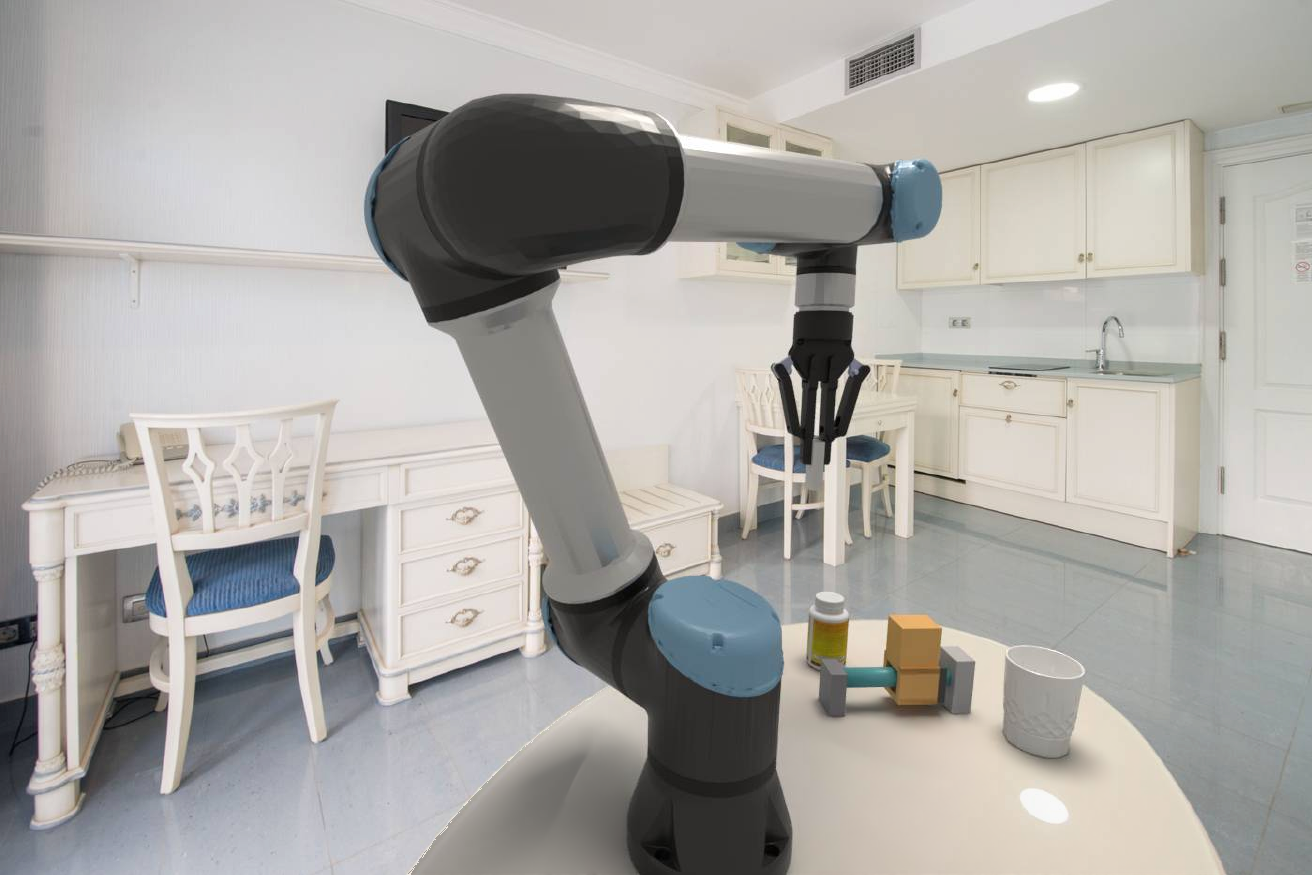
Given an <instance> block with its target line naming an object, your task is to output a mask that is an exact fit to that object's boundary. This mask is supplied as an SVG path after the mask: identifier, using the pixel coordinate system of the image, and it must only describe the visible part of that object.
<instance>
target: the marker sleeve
mask: <svg viewBox="0 0 1312 875" xmlns="http://www.w3.org/2000/svg"><path fill="white" fill-rule="evenodd" d="M887 618H888V619H887V628H886V629H887V631H886V641H885V642H886V643H885V649H884V652H883V661H882V662H883V665H882V667H894V668H895V669H896V670H897V671H898V672H897V685H896V687H883V688H884V689H885V691H886V692H887V693H888V694H889V696H890V697H891V698H892V700H893V701H894V702H895V703H896V704H897V705H898V706H907V705H908V706H912V705H915V706H916V705H937V704H938V703H937V698H938V687H939V676H940V667H939V657H940V646H941V644H942V643H941V642H942V634H943V632H942V631H943V628H942V626H940V625H939V624H938V623H936V622H935V621H934V619H932V618H931V617H929V615H928V614H888V617H887Z"/></svg>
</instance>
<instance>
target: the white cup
mask: <svg viewBox="0 0 1312 875" xmlns="http://www.w3.org/2000/svg"><path fill="white" fill-rule="evenodd" d="M1004 654H1005V656H1004V671H1003V672H1004V675H1003V694H1002V695H1003V699H1002V700H1003V701H1002V707H1003V721H1002V733H1003V735H1004V737H1005V738H1006V740H1007V741H1008V742H1010V744H1012V745H1014V746H1015V747H1016V748H1018V749H1020V750H1022V751H1024V752H1026V753H1028V754H1031V755H1035V756H1039V757H1043V758H1048V759H1049V758H1052V759H1053V758H1056V759H1057V758H1062V757H1064V756H1066V755H1068V753H1069V749H1070V744H1071V743H1070V742H1071V739H1072V738H1071V737H1072V736H1073V735H1072V734H1073V732H1074V730H1075V724H1076V721H1077V718H1078V712H1079V706H1080V702H1081V701H1080V700H1081V696H1082V690H1083V685H1084V680H1085V679H1084V678H1085V676H1086V669H1085V667H1084V666H1083V665H1082V664H1081V663H1080V662H1079V661H1078V660H1076V659H1074V658H1072V656H1069V655H1067V654H1065V653H1062V652H1060V651H1057V650H1054V649H1050V648H1047V647H1042V646H1038V645H1026V644H1023V645H1022V644H1021V645H1013V646H1010V647H1008V648H1007V649H1006V650H1005V653H1004Z"/></svg>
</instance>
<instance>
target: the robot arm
mask: <svg viewBox="0 0 1312 875" xmlns="http://www.w3.org/2000/svg"><path fill="white" fill-rule="evenodd" d="M363 201H364V202H363V217H364V224H365V227H366V228H365V229H366V232H367V234H368V235H367V236H368V238H369V240H370V242H371V245H372V247H373V249H374V251H375V252H376V254H377V255H378V257H379V258H380V260H381V261H382V262H383V263H384V264H385V265H386V267H387V268H388V269H390V270H391V271H392V272H393V273H394V274H395V275H396V276H398V277H399V278H400V279H401V280H402V281H404V282H407V283H408V284H409V285H410V287H411V289H412V291H413V293H414V297H415V298H416V302H417V303H418V305H419V307H420V310H421V312H422V313H423V314H422V315H423V316H424V319H425V321H426V323H427V325H428V327H431V328H432V329H435V330H437V331H439V332H442V333H444V334H447V335H449V336H450V337H451V338H452V339H454V340H455V343H456V344H457V347H458V349H459V350H458V351H459V352H460V355H461V357H462V360H463V361H464V364H465V366H466V368H467V371H468V373H469V376H470V379H471V380H472V382H473V385H474V388H475V389H476V392H477V394H478V396H479V399H480V401H481V404H482V406H483V409H484V411H485V413H486V416H487V418H488V420H489V422H490V424H491V428H492V430H493V432H494V434H495V436H496V437H495V438H496V439H497V441H498V444H499V446H500V448H501V451H502V454H503V455H504V458H505V460H506V463H507V465H508V467H509V469H510V472H511V474H512V476H513V479H514V482H515V483H516V486H517V489H518V491H519V493H520V495H521V498H522V500H523V503H524V506H525V507H526V509H527V512H528V515H529V517H530V520H531V521H532V525H533V526H534V529H535V531H536V534H537V535H538V538H539V540H540V542H541V545H542V547H543V550H544V552H545V554H546V557H547V560H548V564H547V565H546V567H545V569H544V570H543V574H542V576H541V577H542V578H541V580H542V582H541V583H542V588H543V591H544V592H545V597H543V598H542V600H541V601H542V602H541V618H542V621H543V627H544V628H545V631H546V633H547V635H548V637H549V638H550V640H551V641H552V643H553V644H554V645H555V646H556V647H557V648H558V650H559V651H560V652H561V654H562V655H564V657H565V658H567V659H568V660H569V661H571V662H572V663H573V664H575V665H577V666H579V667H581V668H583V669H585V670H587V671H588V672H589V673H591V674H593V675H594V676H595V677H597V678H598V679H600V680H601V681H603V682H604V683H606V684H607V685H608V686H610V687H612V688H613V689H615V690H616V691H618V692H619V693H620V694H622V695H623V696H625V697H626V698H627V699H629V700H631V701H632V702H633V703H635V704H636V705H638V706H639V707H640V708H642V709H643V710H644V711H645V713H646V714H647V751H646V753H647V754H646V758H645V762H644V765H643V768H642V770H641V773H640V775H639V778H638V781H637V784H636V786H635V788H634V791H633V794H632V796H631V799H630V802H629V805H628V808H627V809H628V810H627V813H626V814H627V815H626V847H627V852H628V855H629V858H630V860H631V862H632V864H633V866H634V867H635V870H636V871H637V872H638V873H639V875H787V873H788V870H789V869H790V865H791V861H792V852H793V851H792V850H793V823H792V819H791V816H790V811H789V808H788V805H787V802H786V797H785V794H784V791H783V788H782V783H781V780H780V777H779V774H778V771H777V755H778V741H779V740H778V739H779V736H778V735H779V722H780V720H779V719H780V708H781V706H780V705H781V693H782V676H783V675H784V669H785V660H784V651H783V631H782V630H783V629H782V626H781V620H780V617H779V615H778V613H777V611H776V610H775V608H774V607H773V606H772V604H771V603H770V602H769V601H768V600H766V598H765V597H764V596H762V595H761V594H759V593H758V592H756V591H755V590H753V589H752V588H749V587H748V586H745V585H744V584H740V583H738V582H736V581H733V580H729V579H726V578H720V579H715V578H712V577H711V576H708V575H684V576H679V577H676V578H672V579H669V580H668V579H667V578H666V577H665V575H664V574H663V572H662V569H661V567H660V563H659V561H658V558H657V555H656V552H655V549H654V546H653V543H652V542H651V540H650V538H649V537H648V536H647V535H646V534H645V533H644V532H642V531H639V530H637V529H632V528H631V527H630V524H629V520H628V518H627V515H626V512H625V510H624V507H623V504H622V501H621V498H620V496H619V493H618V490H617V487H616V484H615V481H614V479H613V476H612V473H611V470H610V467H609V465H608V462H607V459H606V456H605V453H604V450H603V447H602V445H601V443H600V439H599V436H598V434H597V431H596V428H595V424H594V422H593V420H592V417H591V414H590V412H589V408H588V405H587V402H586V400H585V397H584V394H583V392H582V388H581V385H580V382H579V380H578V377H577V374H576V372H575V369H574V366H573V364H572V360H571V358H570V354H569V352H568V349H567V345H566V343H565V340H564V338H563V334H562V332H561V330H560V327H559V324H558V320H557V318H556V316H555V315H556V314H555V312H554V310H553V300H554V298H555V295H556V294H557V291H558V289H559V286H560V285H561V282H562V278H561V275H560V273H559V270H558V269H561V268H564V267H568V266H572V265H576V264H581V263H585V262H590V261H597V260H600V259H602V260H603V259H608V258H613V257H623V256H625V257H626V256H637V257H638V256H648V255H651V254H655V253H656V252H657V251H659V250H661V249H662V248H663V247H664V246H665V245H666V244H667V243H669V242H672V243H675V242H676V243H677V242H678V243H679V242H680V243H681V242H682V243H683V242H684V243H695V242H696V243H736V245H738V247H740V248H742V249H744V250H747V251H751V252H754V253H757V254H758V255H764V254H765V255H772V256H773V255H774V256H778V257H780V256H781V257H785V258H786V257H787V258H792V259H796V272H795V292H794V306H795V308H798V311H795V313H794V314H793V322H792V323H793V326H792V342H791V343H792V344H791V347H790V349H789V351H788V352H787V356H786V357H784V358H783V359H782V360H780V361H779V362H773V363H772V364H771V366H770V370H771V372H772V373H773V375H774V377H775V378H776V380H777V383H778V389H779V395H780V399H781V405H782V409H783V416H784V421H785V426H786V431H787V433H788V434H790V435H792V436H794V437H796V438H798V439H799V441H800V442H799V443H800V444H799V448H800V449H799V462H800V464H802V465H805V476H804V477H805V479H804V487H805V488H807V489H808V490H810V491H812V492H813V491H817V492H818V491H819V492H820V491H823V481H824V480H823V478H824V466H828V465H830V463H831V460H832V459H831V458H832V457H831V456H832V446H833V445H832V443H833V442H835V440H836V439H838V438H844V437H845V436H846V435H847V434H848V430H849V427H850V424H851V421H852V417H853V414H854V410H855V408H856V405H857V401H858V398H859V395H860V391H861V388H862V384H863V382H864V381H865V380H866V379H867V377H868V376H869V374H870V372H872V371H871V369H872V368H871V366H870V365H869V364H868V365H867V364H863V363H862V362H860V361H859V360H858V359H856V358H855V352H854V349H853V347H852V342H853V329H854V314H853V312H851V311H850V309H851V308H853V307H854V306H855V305H856V302H855V301H856V300H855V299H856V285H857V284H856V283H857V282H856V281H857V260H858V250H859V249H858V248H859V246H862V247H863V246H872V245H880V244H892V243H897V244H901V243H903V242H905V241H911V240H917V239H921V238H925V237H927V236H928V235H930V233H931V232H933V230H934V229H935V228H936V227H937V224H938V222H939V220H940V216H941V214H942V213H941V212H942V208H943V186H942V180H941V177H940V173H939V171H938V170H937V168H936V167H935V165H934V164H933V163H932V161H929V160H928V159H926V158H913V159H906V160H903V159H897V160H896V161H895V162H891V163H885V164H884V163H883V164H873V163H866V162H859V161H858V162H857V161H856V162H855V161H850V160H849V161H848V160H844V159H837V158H830V157H824V156H820V155H812V154H806V153H802V152H795V151H788V150H782V149H777V148H776V149H775V148H769V147H763V146H758V145H751V144H745V143H740V142H733V141H728V140H721V139H716V138H709V137H703V136H698V135H691V134H685V133H679V132H677V131H676V129H675V128H674V126H673V125H672V124H671V122H669V120H668V119H666V118H665V117H664V116H663V115H661V114H658V113H656V112H652V111H646V110H641V109H636V108H632V107H628V106H627V107H626V106H621V105H617V104H609V103H605V102H597V101H593V100H586V99H580V98H575V97H566V96H555V95H549V94H541V93H539V94H537V93H498V94H497V93H496V94H492V95H486V96H483V97H478V98H474V99H471V100H470V101H468V102H466V103H464V104H462V105H461V106H459V107H457V108H455V109H453V110H452V111H450V112H449V113H448V114H447V115H445V116H443V117H442V118H440V119H438V120H436V121H435V122H433V123H431V124H429V125H428V126H425V127H424V128H422V129H420V130H419V131H417V132H415V133H413V134H411V135H408V136H406V137H404V138H403V139H402V140H400V141H399V142H398V143H396V144H395V145H393V146H392V147H391V149H390V150H388V152H387V153H386V155H385V156H384V157H383V158H382V160H381V161H380V162H379V163H378V165H377V166H376V167H375V169H374V170H373V172H372V174H371V176H370V179H369V181H368V184H367V186H366V189H365V194H364V200H363ZM792 367H793V368H794V369H795V370H796V372H797V374H798V375H799V377H800V378H801V389H802V392H801V405H800V406H801V407H800V408H801V409H800V417H799V413H798V408H797V401H796V397H795V390H794V387H793V380H792V377H791V376H790V375H792V373H793V369H792ZM847 368H848V370H847ZM846 370H847V375H848V376H847V379H846V381H845V384H844V388H843V391H842V394H841V397H840V401H839V404H838V407H837V412H836V401H837V399H836V397H837V390H838V387H839V380H840V378H841V376H843V374H844V373H845V371H846ZM819 384H820V402H819V403H820V404H819V422H818V437H819V439H818V438H815V428H816V411H817V394H818V390H819ZM835 413H836V414H835ZM799 418H800V419H799Z"/></svg>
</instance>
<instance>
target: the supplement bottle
mask: <svg viewBox="0 0 1312 875" xmlns="http://www.w3.org/2000/svg"><path fill="white" fill-rule="evenodd" d="M808 610H809V611H808V619H807V620H808V621H807V637H806V638H807V639H806V655H805V657H806V662H807V664H808V665H809V666H810V667H812V668H813V669H816V670H818V671H820V669H821V659H837V661H838V662H839V663H840V665H841V666H842V668H846V665H847V652H848V640H849V639H848V637H849V622H850V614H849V612H848V610H847V609H846V608H845V597H844V596H843V595H841V594H839V593H838V592H832V591H821V592H817V593H816V594H815V601H814V604H813V605H812V606H811V607H809V609H808Z"/></svg>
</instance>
